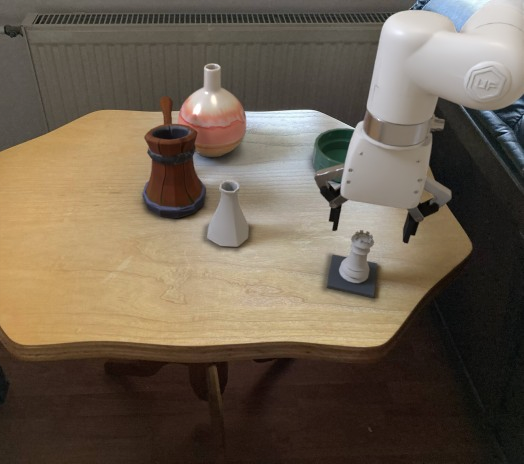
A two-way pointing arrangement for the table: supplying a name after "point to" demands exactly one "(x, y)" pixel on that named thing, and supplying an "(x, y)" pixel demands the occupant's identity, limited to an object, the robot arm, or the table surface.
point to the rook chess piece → (357, 258)
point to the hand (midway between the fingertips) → (369, 230)
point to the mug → (172, 168)
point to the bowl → (331, 148)
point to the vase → (214, 116)
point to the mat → (341, 284)
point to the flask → (228, 218)
